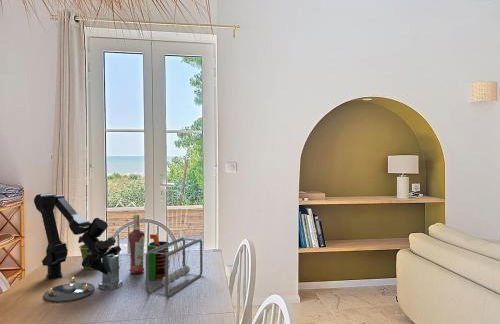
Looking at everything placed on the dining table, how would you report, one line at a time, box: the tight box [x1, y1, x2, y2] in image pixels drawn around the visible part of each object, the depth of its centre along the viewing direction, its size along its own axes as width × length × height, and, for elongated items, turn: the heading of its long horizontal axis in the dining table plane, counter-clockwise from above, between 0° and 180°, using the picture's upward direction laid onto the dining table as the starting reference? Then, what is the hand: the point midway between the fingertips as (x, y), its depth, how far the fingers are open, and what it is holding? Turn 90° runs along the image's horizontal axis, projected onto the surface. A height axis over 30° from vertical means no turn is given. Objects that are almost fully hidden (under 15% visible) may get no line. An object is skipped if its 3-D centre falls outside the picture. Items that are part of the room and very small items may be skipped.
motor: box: [147, 233, 170, 282], centre depth 175 cm, size 10×9×20 cm
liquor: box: [128, 213, 145, 275], centre depth 181 cm, size 7×7×28 cm
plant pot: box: [78, 243, 94, 271], centre depth 189 cm, size 12×12×11 cm
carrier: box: [43, 276, 96, 303], centre depth 156 cm, size 19×19×4 cm
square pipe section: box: [98, 254, 124, 291], centre depth 163 cm, size 9×9×13 cm
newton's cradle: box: [145, 237, 204, 298], centre depth 165 cm, size 30×10×18 cm, turn 159°
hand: (113, 271), depth 163 cm, fingers open, 7 cm apart
